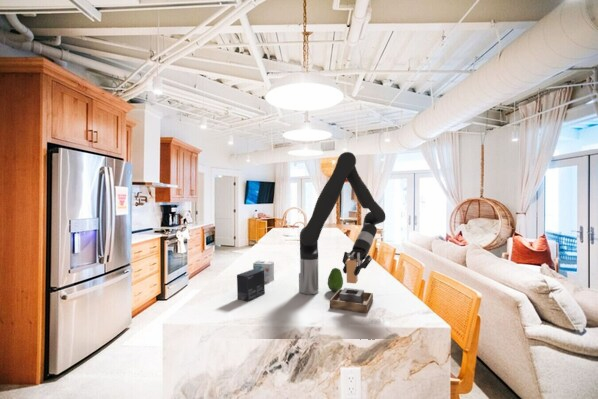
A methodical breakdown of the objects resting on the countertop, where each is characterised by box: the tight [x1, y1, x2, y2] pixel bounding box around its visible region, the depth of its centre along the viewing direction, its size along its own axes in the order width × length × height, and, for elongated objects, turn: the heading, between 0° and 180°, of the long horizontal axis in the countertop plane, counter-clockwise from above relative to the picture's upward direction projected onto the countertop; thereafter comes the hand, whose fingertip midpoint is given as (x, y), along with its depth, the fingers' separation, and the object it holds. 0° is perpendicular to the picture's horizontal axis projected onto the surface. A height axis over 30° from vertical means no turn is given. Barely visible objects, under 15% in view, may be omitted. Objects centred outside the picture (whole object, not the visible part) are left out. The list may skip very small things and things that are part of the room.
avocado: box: [327, 267, 344, 293], centre depth 150 cm, size 8×8×12 cm
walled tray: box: [329, 287, 374, 314], centre depth 132 cm, size 16×16×6 cm
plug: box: [346, 256, 359, 284], centre depth 132 cm, size 4×4×12 cm
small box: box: [236, 268, 266, 302], centre depth 143 cm, size 13×7×12 cm, turn 149°
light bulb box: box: [252, 260, 275, 284], centre depth 170 cm, size 11×7×11 cm, turn 73°
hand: (349, 273), depth 131 cm, fingers closed on plug, 5 cm apart
